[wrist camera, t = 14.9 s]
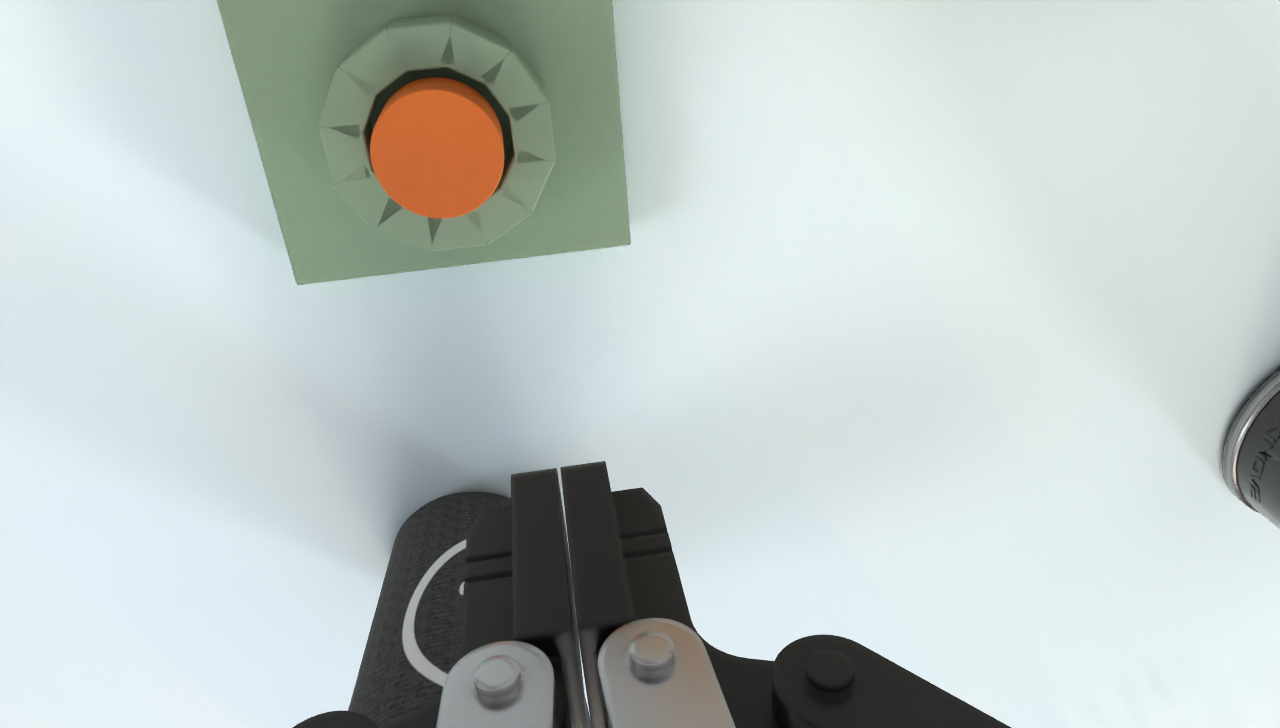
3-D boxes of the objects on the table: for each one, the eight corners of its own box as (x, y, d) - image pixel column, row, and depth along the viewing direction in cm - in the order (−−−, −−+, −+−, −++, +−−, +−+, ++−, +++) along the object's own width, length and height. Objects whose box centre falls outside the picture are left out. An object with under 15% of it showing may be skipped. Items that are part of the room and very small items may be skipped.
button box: (601, -52, 27) (616, -45, 24) (624, 228, 31) (639, 265, 28) (228, -20, 25) (192, -8, 22) (305, 266, 30) (285, 308, 27)
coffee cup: (326, 482, 34) (226, 851, 21) (569, 441, 35) (620, 771, 22) (384, 655, 39) (333, 1046, 26) (598, 616, 39) (654, 974, 26)
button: (493, 70, 25) (494, 82, 23) (510, 193, 26) (512, 211, 25) (364, 83, 24) (356, 95, 23) (390, 207, 26) (385, 226, 25)
